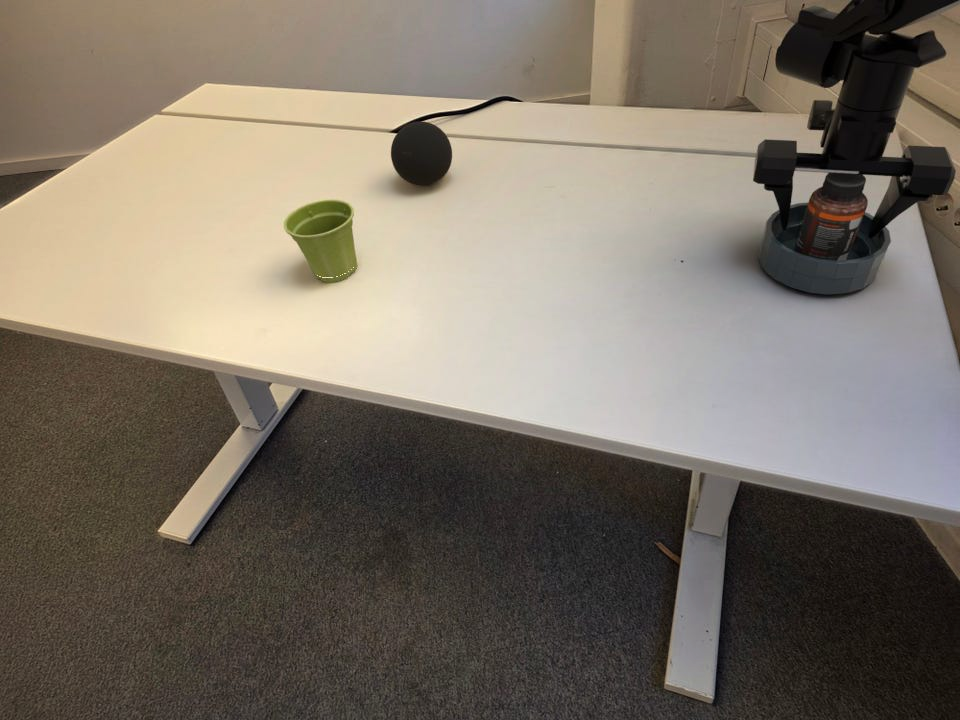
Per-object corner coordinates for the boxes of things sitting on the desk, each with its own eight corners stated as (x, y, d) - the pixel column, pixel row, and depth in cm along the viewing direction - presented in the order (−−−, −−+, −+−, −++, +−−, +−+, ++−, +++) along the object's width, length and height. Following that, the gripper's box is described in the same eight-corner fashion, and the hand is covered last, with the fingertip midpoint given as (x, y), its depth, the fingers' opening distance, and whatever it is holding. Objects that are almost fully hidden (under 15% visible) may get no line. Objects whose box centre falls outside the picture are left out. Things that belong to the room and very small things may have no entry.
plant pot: (302, 260, 89) (282, 208, 83) (364, 245, 90) (349, 192, 84) (305, 297, 83) (284, 243, 77) (373, 280, 84) (357, 225, 78)
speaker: (402, 202, 98) (389, 143, 92) (394, 175, 106) (381, 118, 99) (461, 189, 99) (452, 129, 92) (449, 163, 107) (440, 106, 100)
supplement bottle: (853, 274, 72) (887, 188, 65) (801, 278, 73) (828, 193, 65) (833, 246, 77) (862, 162, 69) (785, 250, 77) (808, 167, 69)
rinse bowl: (870, 240, 78) (884, 206, 74) (880, 305, 69) (896, 269, 66) (759, 231, 82) (767, 198, 78) (755, 290, 73) (764, 256, 70)
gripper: (964, 71, 64) (908, 204, 74) (771, 70, 70) (745, 192, 80) (986, 116, 56) (920, 255, 67) (768, 110, 62) (740, 239, 73)
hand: (825, 232), depth 72 cm, fingers open, 9 cm apart
